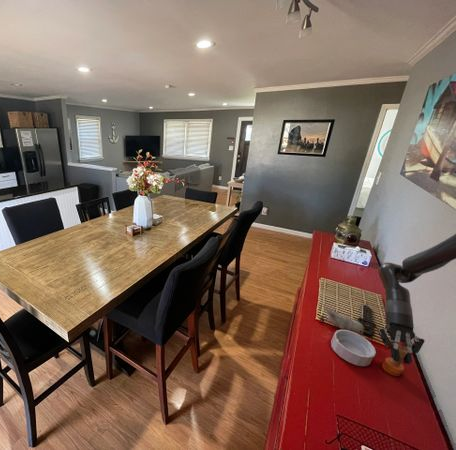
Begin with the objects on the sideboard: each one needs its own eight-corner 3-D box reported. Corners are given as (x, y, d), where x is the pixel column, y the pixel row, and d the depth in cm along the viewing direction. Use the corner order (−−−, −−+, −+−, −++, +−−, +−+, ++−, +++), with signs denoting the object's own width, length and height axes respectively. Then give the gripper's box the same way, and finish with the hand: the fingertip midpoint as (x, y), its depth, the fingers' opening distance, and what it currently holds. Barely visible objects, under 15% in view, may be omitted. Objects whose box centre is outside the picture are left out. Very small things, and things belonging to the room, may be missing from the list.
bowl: (378, 363, 94) (384, 353, 92) (352, 370, 91) (358, 360, 89) (346, 336, 106) (351, 327, 104) (323, 342, 103) (326, 332, 101)
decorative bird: (362, 339, 105) (368, 326, 102) (319, 323, 113) (323, 310, 110) (361, 331, 109) (367, 319, 106) (319, 316, 117) (324, 304, 114)
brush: (403, 374, 90) (417, 354, 86) (393, 377, 89) (406, 357, 84) (388, 362, 94) (400, 342, 90) (378, 365, 93) (390, 344, 89)
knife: (362, 304, 126) (363, 302, 126) (378, 310, 122) (379, 308, 121) (354, 330, 110) (356, 327, 109) (373, 338, 105) (374, 336, 105)
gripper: (382, 307, 92) (384, 356, 86) (429, 318, 87) (434, 370, 81) (371, 309, 98) (372, 354, 93) (414, 319, 94) (418, 367, 88)
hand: (401, 362), depth 87 cm, fingers closed on brush, 2 cm apart
